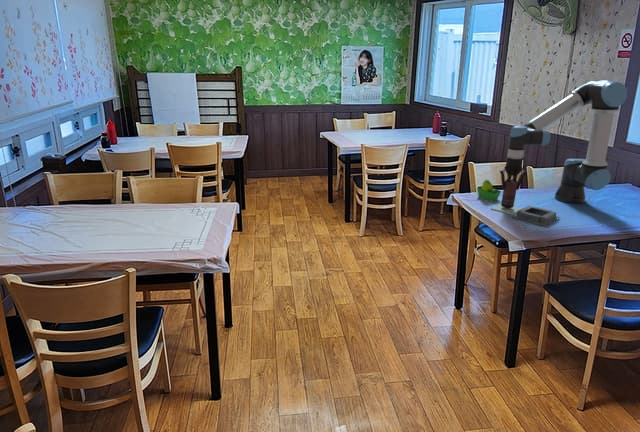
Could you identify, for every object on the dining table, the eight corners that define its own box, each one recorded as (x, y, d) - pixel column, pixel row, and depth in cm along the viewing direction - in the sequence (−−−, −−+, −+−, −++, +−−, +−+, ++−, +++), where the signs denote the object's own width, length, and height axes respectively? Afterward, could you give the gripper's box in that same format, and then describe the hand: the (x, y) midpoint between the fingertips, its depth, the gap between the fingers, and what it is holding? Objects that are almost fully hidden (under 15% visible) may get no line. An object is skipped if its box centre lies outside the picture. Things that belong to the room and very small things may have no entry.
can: (508, 209, 233) (512, 182, 228) (498, 205, 238) (502, 179, 233) (516, 207, 236) (520, 181, 231) (506, 204, 241) (510, 178, 236)
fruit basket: (500, 199, 254) (503, 180, 250) (490, 202, 249) (493, 182, 245) (483, 194, 263) (486, 175, 259) (473, 197, 258) (476, 178, 254)
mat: (501, 204, 245) (502, 203, 245) (523, 210, 237) (523, 208, 237) (490, 209, 238) (490, 208, 238) (512, 214, 229) (512, 213, 229)
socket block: (527, 210, 236) (528, 204, 234) (559, 219, 224) (560, 212, 223) (512, 217, 226) (513, 211, 224) (544, 226, 214) (545, 219, 213)
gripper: (526, 156, 231) (519, 200, 239) (499, 155, 233) (493, 199, 241) (531, 159, 224) (523, 205, 232) (502, 158, 226) (496, 203, 234)
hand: (508, 202), depth 236 cm, fingers closed
